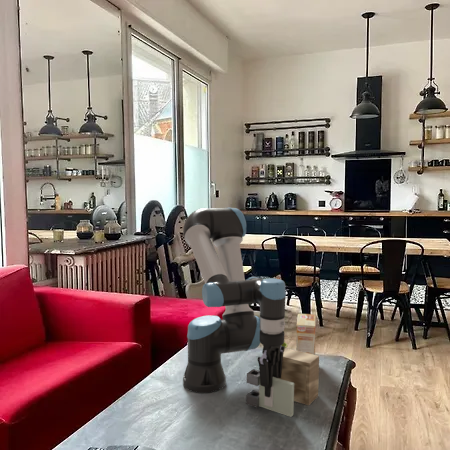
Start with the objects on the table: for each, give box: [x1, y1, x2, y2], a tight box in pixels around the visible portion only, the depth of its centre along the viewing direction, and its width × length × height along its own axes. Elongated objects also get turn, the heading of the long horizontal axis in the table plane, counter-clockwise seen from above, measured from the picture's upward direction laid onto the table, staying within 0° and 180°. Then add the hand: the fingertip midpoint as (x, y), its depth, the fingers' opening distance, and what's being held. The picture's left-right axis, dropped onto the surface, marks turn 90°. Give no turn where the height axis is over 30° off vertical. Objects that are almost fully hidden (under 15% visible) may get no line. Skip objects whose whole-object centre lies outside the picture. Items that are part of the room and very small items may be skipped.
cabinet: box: [257, 347, 320, 406], centre depth 149 cm, size 15×14×14 cm
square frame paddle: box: [245, 369, 295, 418], centre depth 139 cm, size 15×4×10 cm, turn 55°
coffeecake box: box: [295, 313, 317, 355], centre depth 172 cm, size 15×7×20 cm, turn 168°
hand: (270, 403), depth 140 cm, fingers closed on square frame paddle, 2 cm apart
